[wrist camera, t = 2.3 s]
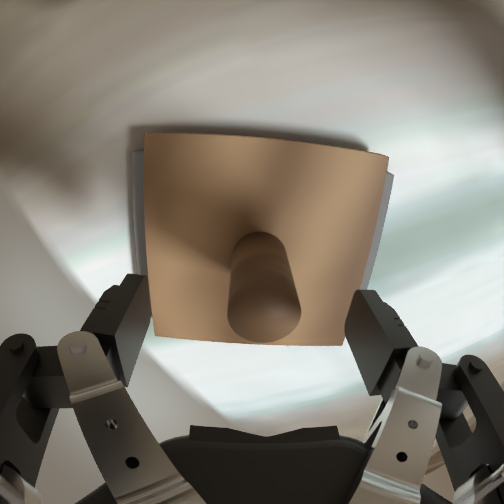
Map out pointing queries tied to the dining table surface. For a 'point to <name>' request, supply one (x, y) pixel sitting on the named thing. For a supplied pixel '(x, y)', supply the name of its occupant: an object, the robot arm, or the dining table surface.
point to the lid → (257, 236)
